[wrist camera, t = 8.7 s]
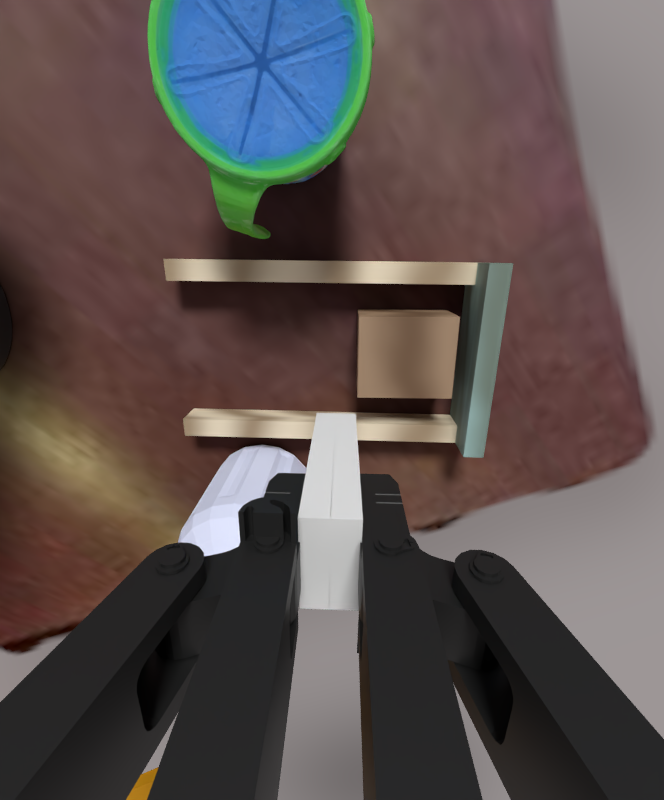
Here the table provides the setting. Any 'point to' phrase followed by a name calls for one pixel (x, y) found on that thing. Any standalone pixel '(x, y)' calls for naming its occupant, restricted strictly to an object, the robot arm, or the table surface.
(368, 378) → the block
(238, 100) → the snack cup
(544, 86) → the table surface
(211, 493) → the soap bottle
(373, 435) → the lane
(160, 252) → the table surface
